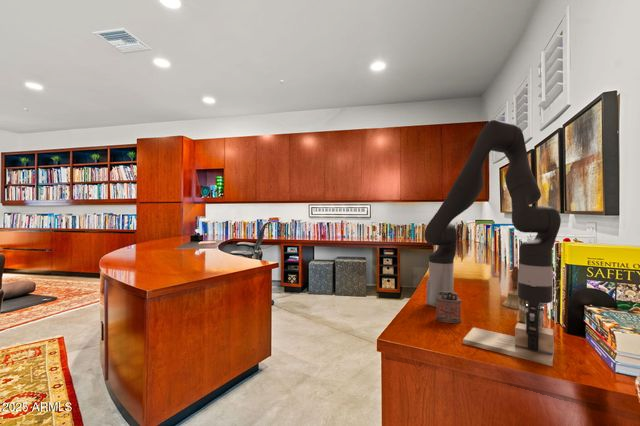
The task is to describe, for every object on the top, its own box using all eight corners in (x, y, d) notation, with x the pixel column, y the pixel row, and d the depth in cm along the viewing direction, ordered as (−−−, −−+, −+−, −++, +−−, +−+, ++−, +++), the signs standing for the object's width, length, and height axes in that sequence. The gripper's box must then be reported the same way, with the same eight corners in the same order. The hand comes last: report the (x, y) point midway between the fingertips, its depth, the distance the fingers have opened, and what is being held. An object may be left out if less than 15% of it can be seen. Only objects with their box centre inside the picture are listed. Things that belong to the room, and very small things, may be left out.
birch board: (463, 343, 87) (463, 339, 87) (473, 331, 96) (473, 327, 96) (552, 366, 74) (552, 361, 74) (554, 349, 83) (554, 345, 83)
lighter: (460, 320, 106) (461, 291, 106) (461, 323, 103) (462, 293, 103) (435, 317, 108) (435, 289, 108) (435, 320, 105) (436, 291, 105)
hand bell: (526, 305, 125) (526, 266, 125) (527, 310, 118) (527, 269, 118) (502, 302, 130) (503, 264, 130) (502, 307, 123) (502, 266, 123)
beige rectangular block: (514, 346, 82) (515, 327, 82) (517, 340, 86) (517, 322, 86) (552, 355, 77) (552, 335, 77) (553, 348, 81) (553, 329, 81)
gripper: (521, 275, 89) (520, 334, 89) (514, 284, 78) (513, 351, 78) (553, 279, 85) (553, 341, 85) (551, 289, 73) (550, 360, 73)
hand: (534, 346), depth 81 cm, fingers closed on beige rectangular block, 5 cm apart
